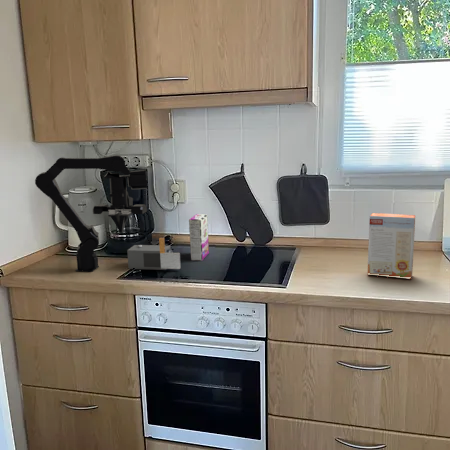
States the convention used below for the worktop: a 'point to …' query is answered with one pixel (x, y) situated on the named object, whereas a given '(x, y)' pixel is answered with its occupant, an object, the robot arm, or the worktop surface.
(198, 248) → the candy bar box
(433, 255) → the worktop surface
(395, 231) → the cracker box
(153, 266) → the grey box with panel
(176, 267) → the side door
